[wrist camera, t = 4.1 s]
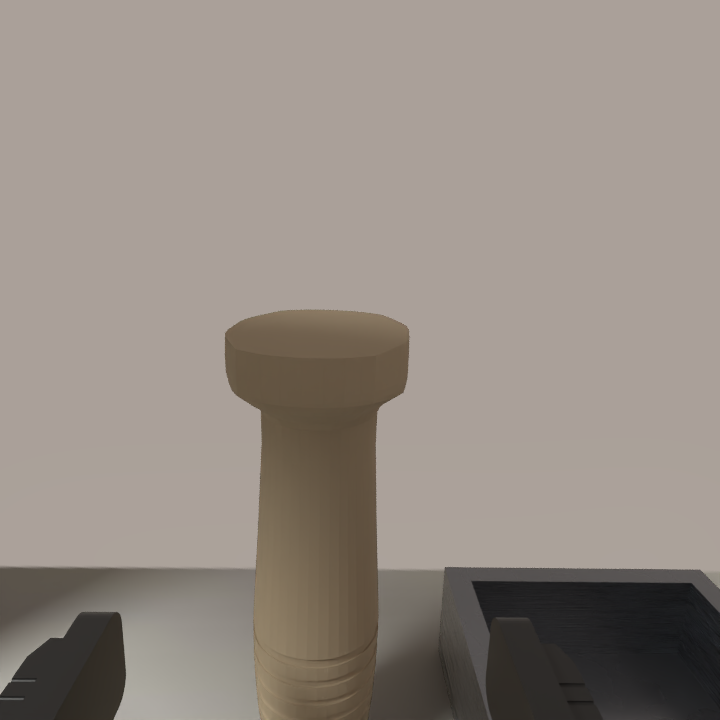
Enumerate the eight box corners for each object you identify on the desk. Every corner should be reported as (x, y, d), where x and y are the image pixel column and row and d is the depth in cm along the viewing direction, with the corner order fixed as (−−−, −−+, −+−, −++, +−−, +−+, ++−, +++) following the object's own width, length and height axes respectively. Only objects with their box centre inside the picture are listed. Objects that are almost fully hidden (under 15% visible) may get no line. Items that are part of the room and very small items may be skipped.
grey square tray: (507, 962, 15) (524, 840, 14) (438, 649, 25) (444, 567, 24) (921, 955, 15) (966, 837, 14) (683, 649, 26) (699, 569, 25)
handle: (387, 694, 23) (407, 313, 19) (383, 876, 16) (411, 363, 13) (264, 685, 23) (260, 307, 19) (215, 860, 17) (193, 353, 13)
